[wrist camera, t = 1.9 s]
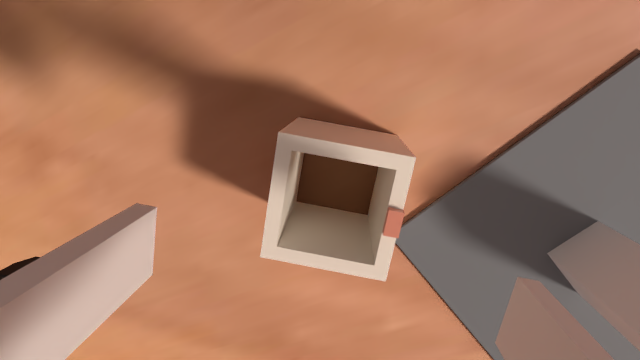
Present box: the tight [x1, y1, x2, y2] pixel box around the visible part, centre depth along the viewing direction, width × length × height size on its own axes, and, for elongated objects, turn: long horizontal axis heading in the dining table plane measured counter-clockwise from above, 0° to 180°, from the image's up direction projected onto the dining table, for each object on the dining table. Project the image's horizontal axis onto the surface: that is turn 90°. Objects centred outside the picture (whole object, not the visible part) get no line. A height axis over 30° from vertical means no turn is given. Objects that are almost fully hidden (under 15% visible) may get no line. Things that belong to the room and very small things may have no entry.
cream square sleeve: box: [260, 117, 416, 281], centre depth 24 cm, size 7×7×8 cm
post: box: [395, 54, 640, 360], centre depth 23 cm, size 20×20×11 cm
